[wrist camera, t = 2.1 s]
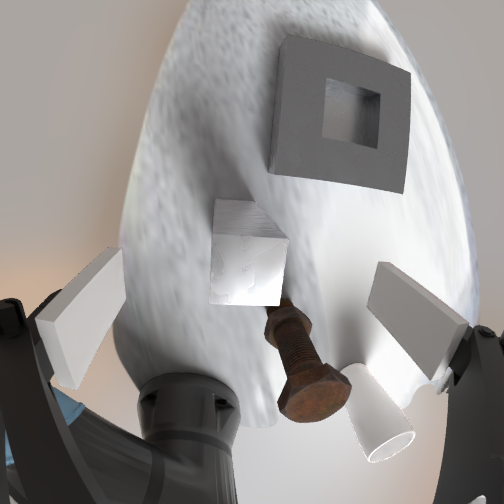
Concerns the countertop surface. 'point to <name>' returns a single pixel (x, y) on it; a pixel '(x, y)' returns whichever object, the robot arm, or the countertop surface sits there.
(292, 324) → the bolt
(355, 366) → the drinking glass
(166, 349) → the countertop surface
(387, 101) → the socket block
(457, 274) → the countertop surface
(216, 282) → the peg
